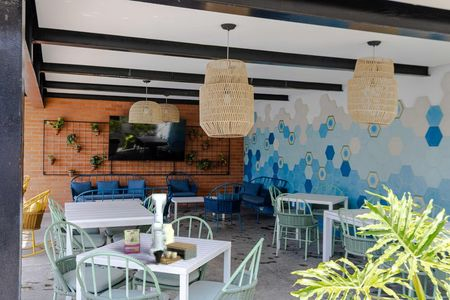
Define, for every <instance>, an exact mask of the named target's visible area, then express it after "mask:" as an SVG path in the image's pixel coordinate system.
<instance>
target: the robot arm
mask: <svg viewBox="0 0 450 300" xmlns="http://www.w3.org/2000/svg"><path fill="white" fill-rule="evenodd" d="M151 203H152V204H151V205H153V206H155V213H154V214H153V223H152V235H151V239H152V240H151V241H152V243H151V245H150V249H149V250H148V251H149V254H150V255H149V256H151V257H154V260H155V259H156V262H157V263H156V264H159V262H160V260H161V257H162V256H165V249H167V246H165V242H166V239H167V236H166V230H164V229H163V224H164V221H163V220H164V219H163V217H164V216H163V208H164V205H167V193H152V194H151Z"/></svg>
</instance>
